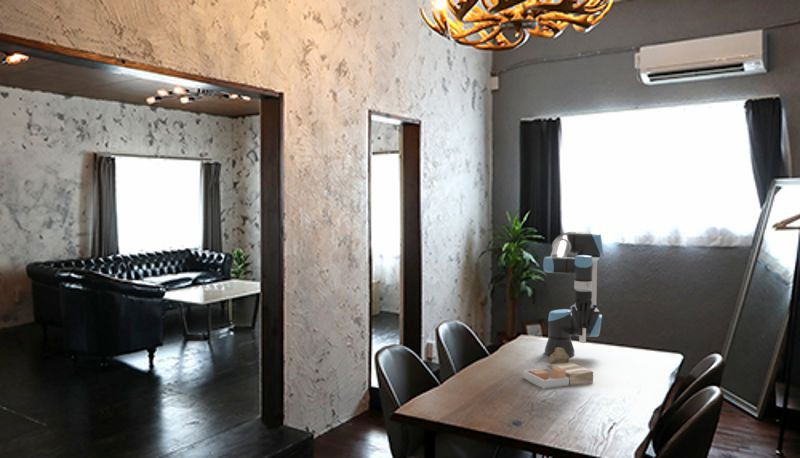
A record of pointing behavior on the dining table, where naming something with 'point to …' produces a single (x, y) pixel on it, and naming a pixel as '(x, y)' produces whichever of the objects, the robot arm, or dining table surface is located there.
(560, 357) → the rock
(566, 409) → the dining table surface
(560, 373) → the tile
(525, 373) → the box
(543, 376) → the tile
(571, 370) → the board
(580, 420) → the dining table surface
